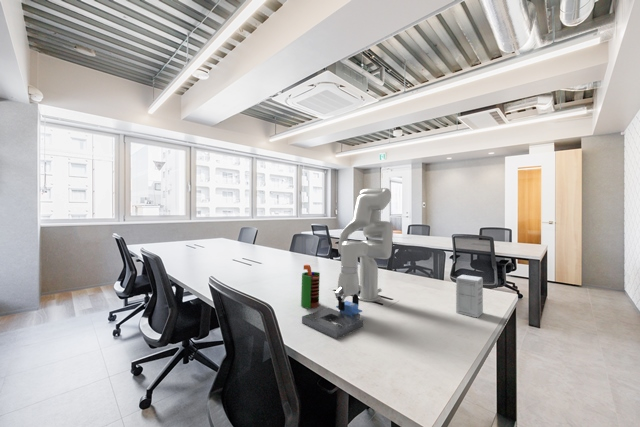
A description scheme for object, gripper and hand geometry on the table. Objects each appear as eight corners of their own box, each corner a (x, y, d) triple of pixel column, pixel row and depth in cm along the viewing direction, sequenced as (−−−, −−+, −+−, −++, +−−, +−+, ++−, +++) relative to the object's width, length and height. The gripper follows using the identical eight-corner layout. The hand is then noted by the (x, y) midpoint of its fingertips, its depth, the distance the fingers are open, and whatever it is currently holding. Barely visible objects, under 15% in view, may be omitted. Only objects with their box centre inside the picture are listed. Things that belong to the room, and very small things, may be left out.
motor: (316, 309, 132) (317, 267, 132) (298, 307, 134) (299, 266, 134) (320, 302, 142) (321, 263, 142) (304, 301, 144) (304, 263, 144)
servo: (342, 311, 131) (342, 298, 131) (362, 318, 122) (362, 305, 122) (336, 313, 128) (336, 301, 128) (355, 320, 119) (355, 307, 119)
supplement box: (483, 312, 130) (483, 277, 130) (478, 318, 123) (478, 280, 123) (461, 307, 137) (461, 274, 137) (455, 312, 130) (455, 277, 130)
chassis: (328, 313, 127) (328, 307, 127) (363, 326, 113) (363, 320, 113) (301, 322, 116) (302, 316, 116) (336, 339, 102) (336, 331, 102)
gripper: (354, 266, 133) (354, 302, 133) (330, 270, 121) (329, 309, 121) (367, 268, 128) (366, 305, 128) (342, 273, 116) (341, 314, 116)
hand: (348, 307), depth 125 cm, fingers open, 9 cm apart
